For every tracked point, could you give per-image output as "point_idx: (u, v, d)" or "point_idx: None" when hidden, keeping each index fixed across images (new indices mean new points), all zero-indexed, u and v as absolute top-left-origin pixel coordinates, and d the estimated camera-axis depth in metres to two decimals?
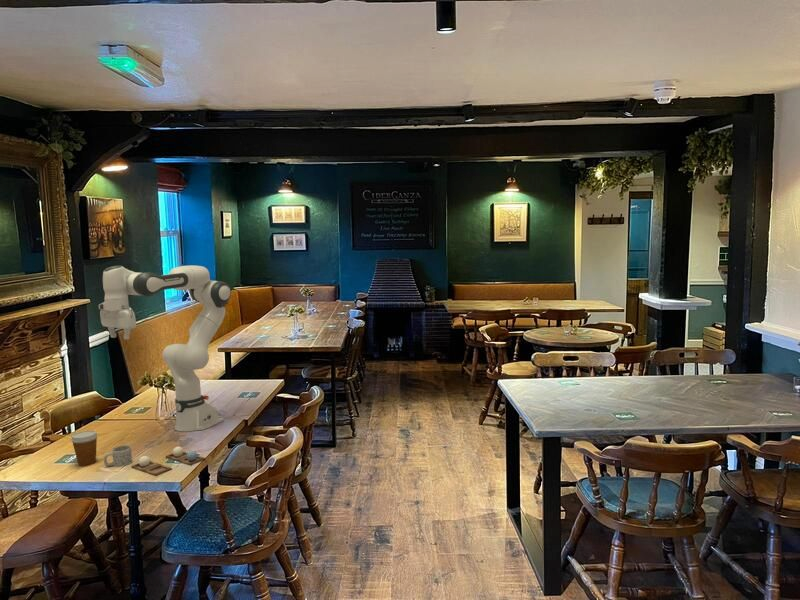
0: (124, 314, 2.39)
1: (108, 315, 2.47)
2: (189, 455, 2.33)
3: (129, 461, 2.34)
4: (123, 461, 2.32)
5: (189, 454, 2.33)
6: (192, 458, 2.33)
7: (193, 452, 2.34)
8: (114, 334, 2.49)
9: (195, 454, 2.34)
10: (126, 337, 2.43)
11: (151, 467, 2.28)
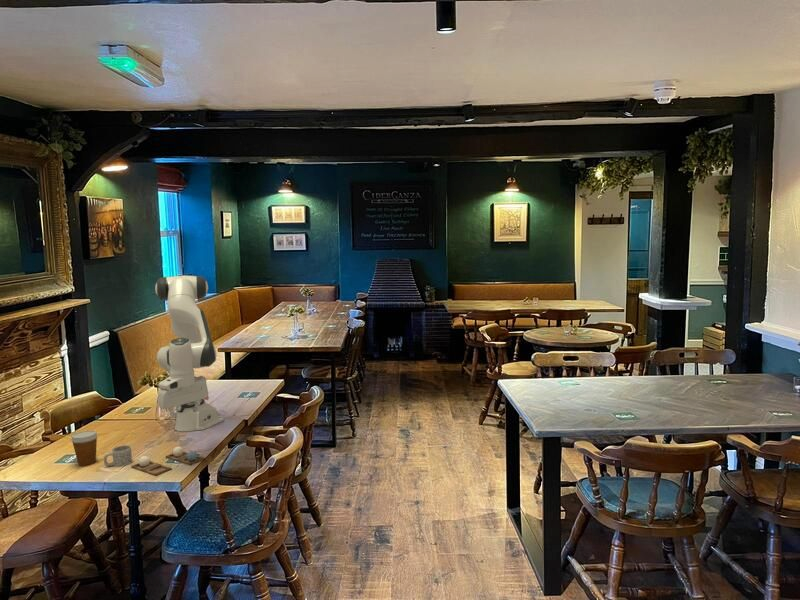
0: (203, 384, 2.37)
1: (174, 393, 2.27)
2: (189, 455, 2.33)
3: (129, 461, 2.34)
4: (123, 461, 2.32)
5: (189, 454, 2.33)
6: (192, 458, 2.33)
7: (193, 452, 2.34)
8: None
9: (195, 454, 2.34)
10: None
11: (151, 467, 2.28)
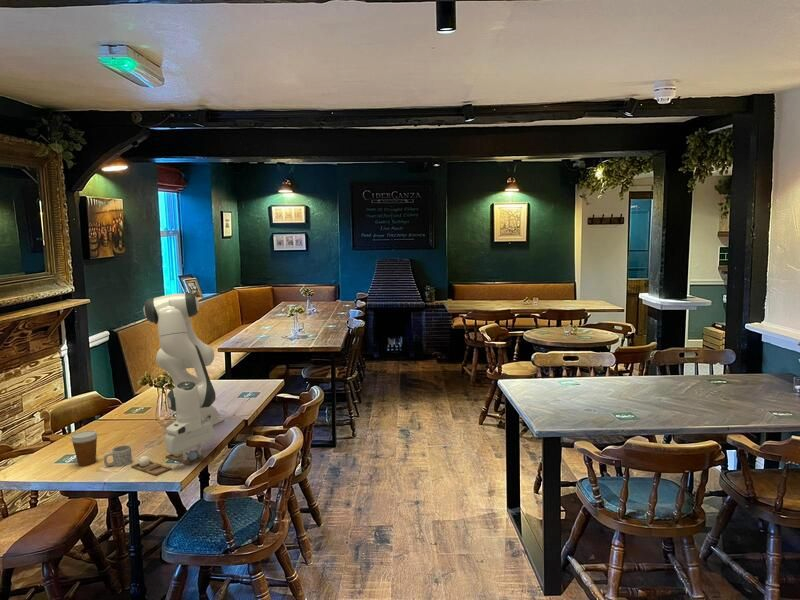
0: (209, 426, 2.38)
1: (182, 438, 2.29)
2: (189, 455, 2.33)
3: (129, 461, 2.34)
4: (123, 461, 2.32)
5: (189, 454, 2.33)
6: (192, 458, 2.33)
7: (193, 452, 2.34)
8: None
9: (195, 454, 2.34)
10: None
11: (151, 467, 2.28)
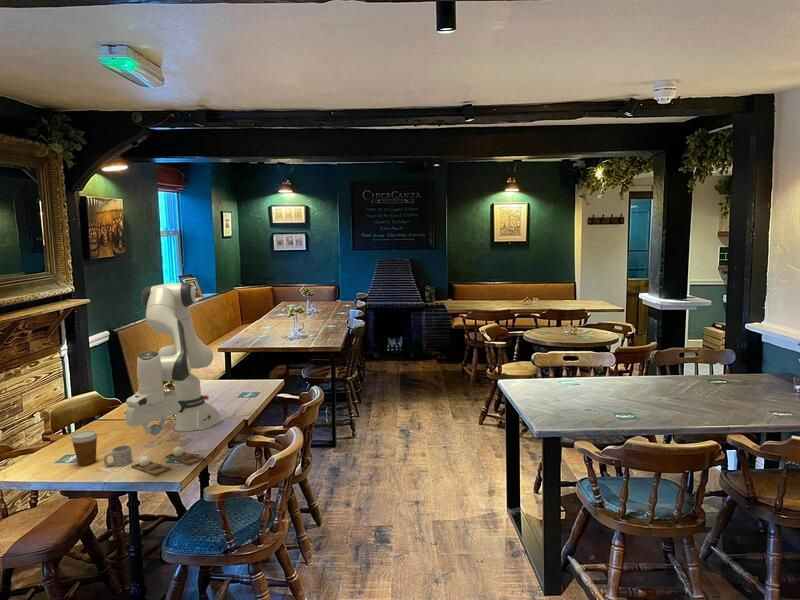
0: (173, 398, 2.28)
1: (143, 410, 2.18)
2: (152, 428, 2.22)
3: (129, 461, 2.34)
4: (123, 461, 2.32)
5: (152, 427, 2.22)
6: (155, 432, 2.22)
7: (156, 425, 2.23)
8: None
9: (158, 428, 2.23)
10: None
11: (151, 467, 2.28)
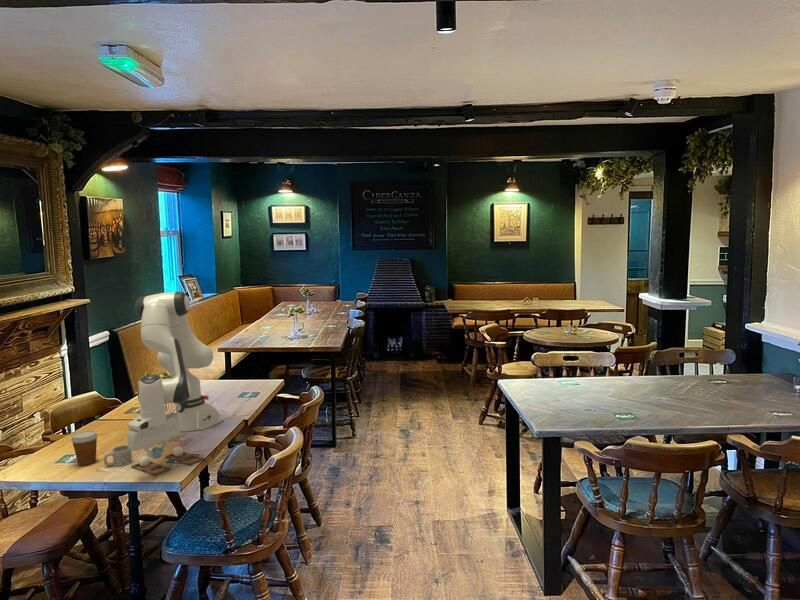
0: (175, 421, 2.29)
1: (145, 433, 2.19)
2: (153, 452, 2.23)
3: (129, 461, 2.34)
4: (123, 461, 2.32)
5: (153, 451, 2.23)
6: (156, 455, 2.23)
7: (157, 449, 2.24)
8: None
9: (160, 451, 2.24)
10: None
11: (151, 467, 2.28)
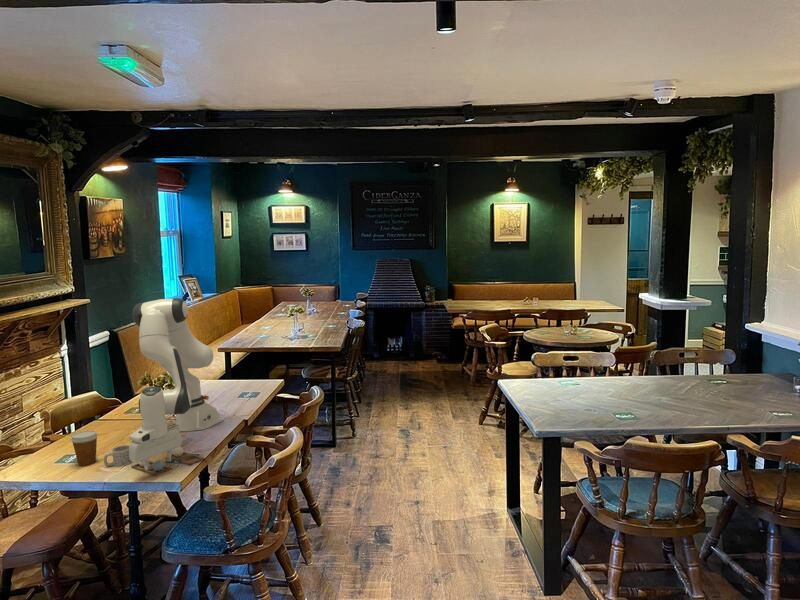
0: (176, 432, 2.29)
1: (147, 445, 2.19)
2: (154, 465, 2.23)
3: (129, 461, 2.34)
4: (123, 461, 2.32)
5: (154, 464, 2.24)
6: (158, 468, 2.24)
7: (159, 462, 2.24)
8: None
9: (161, 464, 2.24)
10: None
11: (151, 467, 2.28)
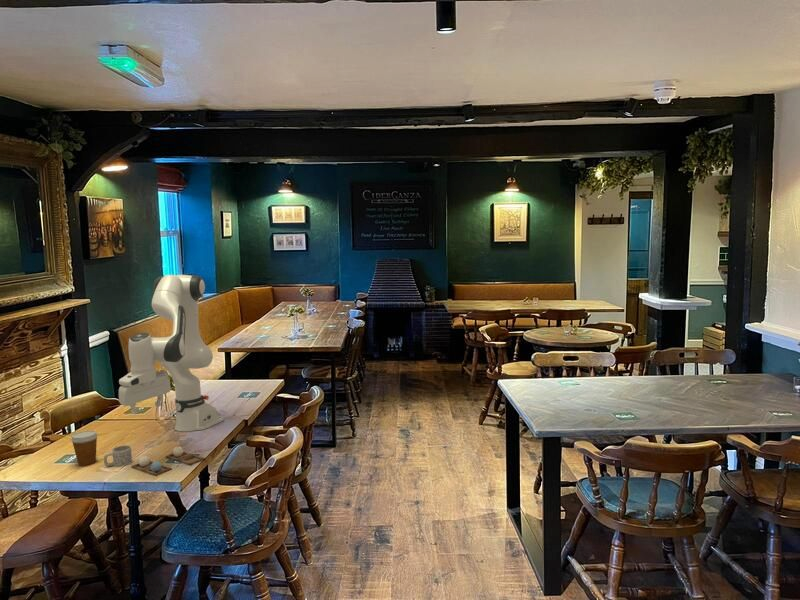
0: (165, 378, 2.35)
1: (136, 389, 2.25)
2: (152, 468, 2.23)
3: (129, 461, 2.34)
4: (123, 461, 2.32)
5: (152, 467, 2.23)
6: (157, 470, 2.23)
7: (156, 464, 2.23)
8: None
9: (158, 465, 2.24)
10: None
11: None
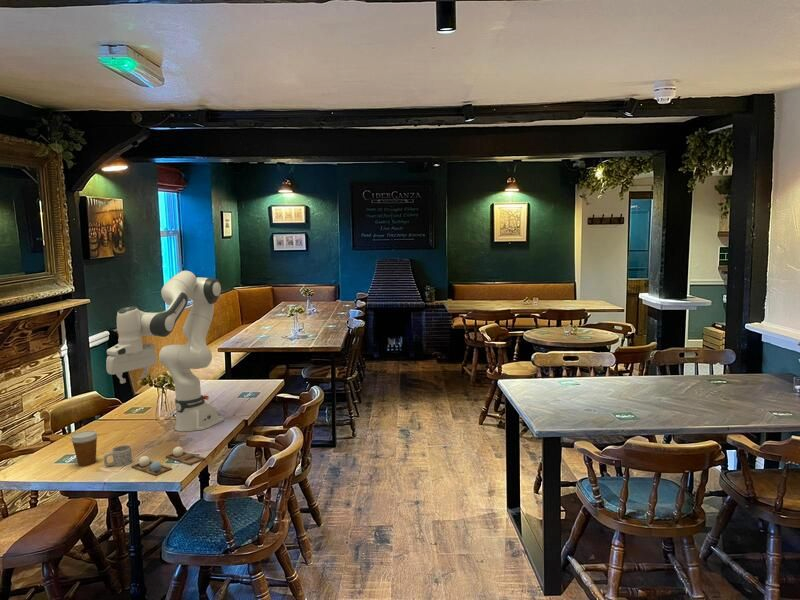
0: (151, 351, 2.46)
1: (123, 359, 2.36)
2: (152, 469, 2.23)
3: (129, 461, 2.34)
4: (123, 461, 2.32)
5: (152, 468, 2.23)
6: (156, 470, 2.23)
7: (155, 464, 2.23)
8: None
9: (158, 465, 2.23)
10: None
11: None
